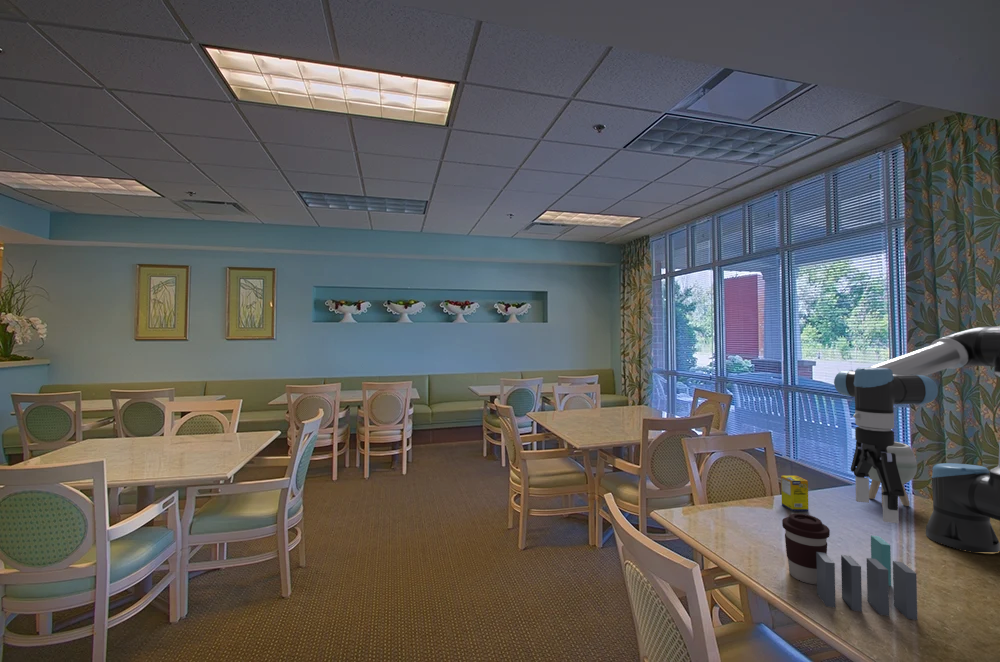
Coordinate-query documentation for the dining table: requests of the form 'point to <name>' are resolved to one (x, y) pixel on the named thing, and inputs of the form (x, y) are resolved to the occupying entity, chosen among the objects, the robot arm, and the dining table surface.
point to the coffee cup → (804, 545)
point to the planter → (905, 469)
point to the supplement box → (794, 493)
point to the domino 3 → (881, 553)
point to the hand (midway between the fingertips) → (875, 511)
